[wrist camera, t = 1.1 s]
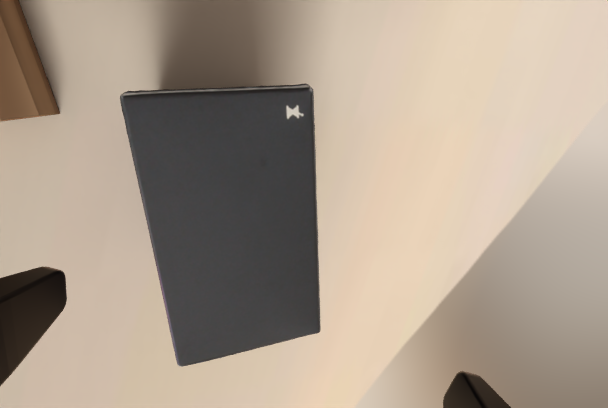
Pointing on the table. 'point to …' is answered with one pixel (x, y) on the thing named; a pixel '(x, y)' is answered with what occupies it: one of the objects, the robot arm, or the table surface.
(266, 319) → the small box
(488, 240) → the table surface
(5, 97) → the walnut holder
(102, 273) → the table surface
